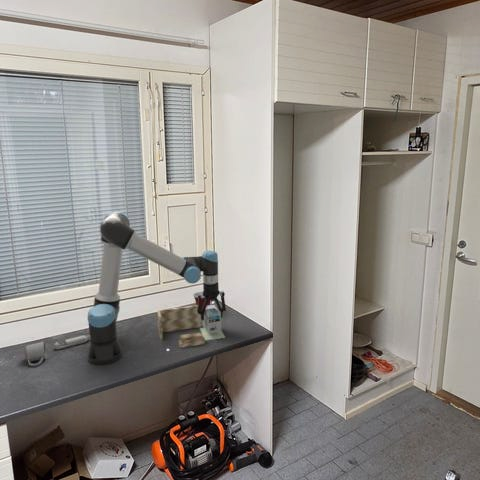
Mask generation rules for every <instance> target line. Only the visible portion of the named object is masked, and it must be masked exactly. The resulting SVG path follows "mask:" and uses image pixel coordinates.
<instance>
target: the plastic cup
mask: <svg viewBox="0 0 480 480" xmlns="http://www.w3.org/2000/svg"><path fill="white" fill-rule="evenodd" d="M202 293H203V291H198V292H195V293H193V294H192V295H193V299H194V300H195V301H194V302H195V305H198V296H197V295H198V294H202ZM201 300H202V301H201V310H202V307H203V304H204V301H205V297H204V296H203V297H202V299H201ZM211 301H212V300H210V301H209V302H208V304H207V306H209V305H211ZM200 316H201V314H200Z"/></svg>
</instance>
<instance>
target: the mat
mask: <svg viewBox="0 0 480 480" xmlns="http://www.w3.org/2000/svg"><path fill="white" fill-rule="evenodd" d="M199 331H200V333H201V334H203V336H204V340H205V342H207V341H215V340H220V339H221V338H222V339H225V338H226V336H225V334H224V332H223V331H222V330H221V332H215V333H210V334H209V333H208V331H207V330H206V328H205V327H204V326H203V327H199ZM222 339H221V340H222Z"/></svg>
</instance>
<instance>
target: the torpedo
mask: <svg viewBox="0 0 480 480" xmlns="http://www.w3.org/2000/svg"><path fill="white" fill-rule="evenodd" d="M83 333H84V335H79V336H76V337H71V338H67V339H65V340H64V343H60V344H59V342H58V341H56V342H55V343H54V345H53V347H54V348H55V349H56V350H61V349H66V348H69V347H73V346H77V345H82V344H85V343H87V342H88V341H90V334H89V335H85V332H83Z"/></svg>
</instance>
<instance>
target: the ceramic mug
mask: <svg viewBox="0 0 480 480" xmlns="http://www.w3.org/2000/svg"><path fill="white" fill-rule="evenodd" d="M24 357H25V360H26V362H28V365H29V366H31V367H37V366H39V365H41V364H42V363H43V361H44V360H46V359H47V350H46V343H45V341H40V342H37V343H36V342H35V343H33V344H28V345H26V346H25V347H24ZM34 361H38V362H37V363H31V362H34Z"/></svg>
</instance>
